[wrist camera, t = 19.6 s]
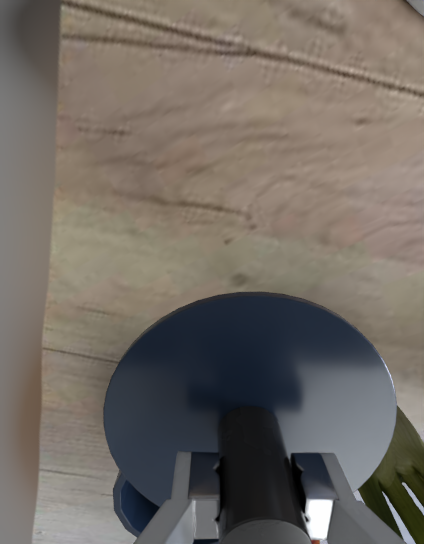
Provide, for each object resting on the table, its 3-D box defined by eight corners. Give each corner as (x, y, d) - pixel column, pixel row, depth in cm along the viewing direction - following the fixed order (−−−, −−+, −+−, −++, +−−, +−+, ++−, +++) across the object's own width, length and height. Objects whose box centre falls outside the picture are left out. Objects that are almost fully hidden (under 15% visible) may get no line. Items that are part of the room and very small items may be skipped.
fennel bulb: (315, 417, 28) (388, 578, 16) (325, 374, 27) (412, 516, 15) (374, 421, 28) (486, 584, 17) (387, 378, 27) (520, 523, 15)
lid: (62, 339, 12) (-43, 449, 7) (351, 242, 10) (470, 295, 6) (172, 526, 15) (153, 690, 10) (401, 471, 14) (502, 627, 9)
